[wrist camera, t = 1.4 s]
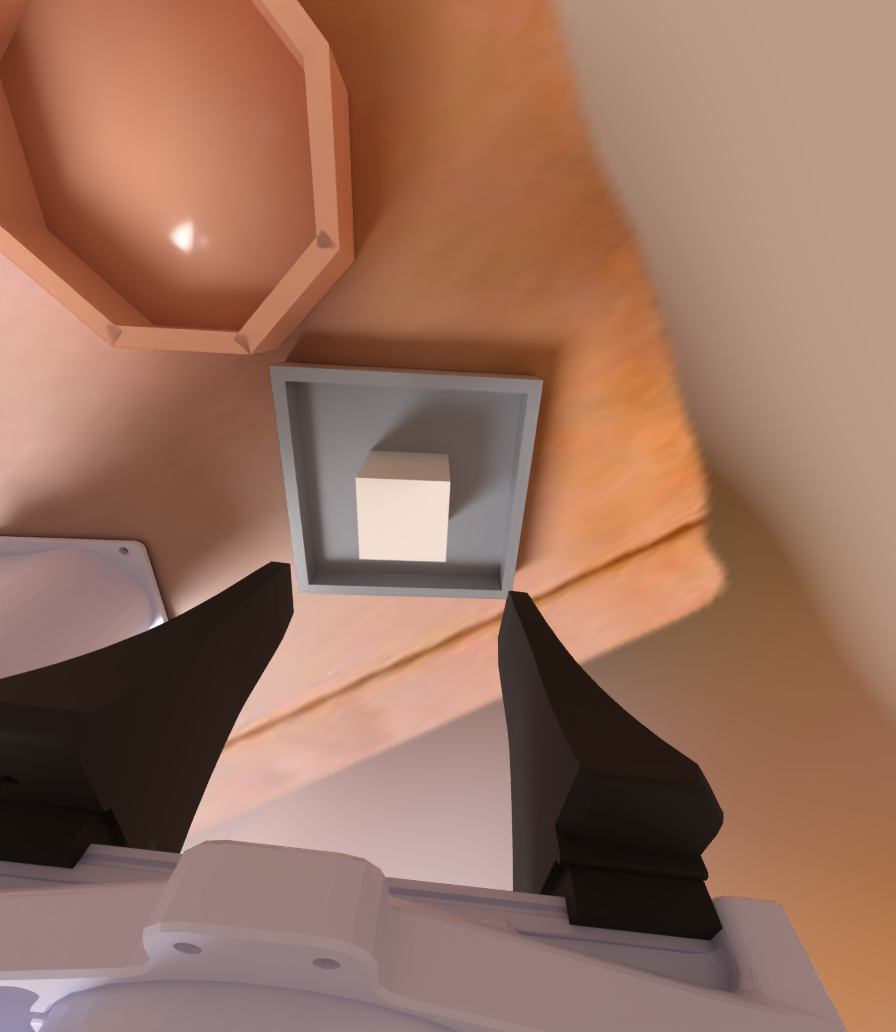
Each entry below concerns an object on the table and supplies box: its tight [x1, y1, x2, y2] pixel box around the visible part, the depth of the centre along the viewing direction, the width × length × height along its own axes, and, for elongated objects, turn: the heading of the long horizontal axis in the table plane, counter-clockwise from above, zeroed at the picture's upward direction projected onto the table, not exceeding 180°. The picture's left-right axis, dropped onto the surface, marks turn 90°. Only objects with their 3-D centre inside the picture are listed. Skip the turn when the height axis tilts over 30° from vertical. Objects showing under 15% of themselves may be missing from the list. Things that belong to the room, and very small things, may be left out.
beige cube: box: [356, 451, 450, 562], centre depth 20 cm, size 4×4×4 cm
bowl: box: [0, 0, 355, 355], centre depth 15 cm, size 13×13×3 cm
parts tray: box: [269, 362, 543, 599], centre depth 21 cm, size 12×12×2 cm
